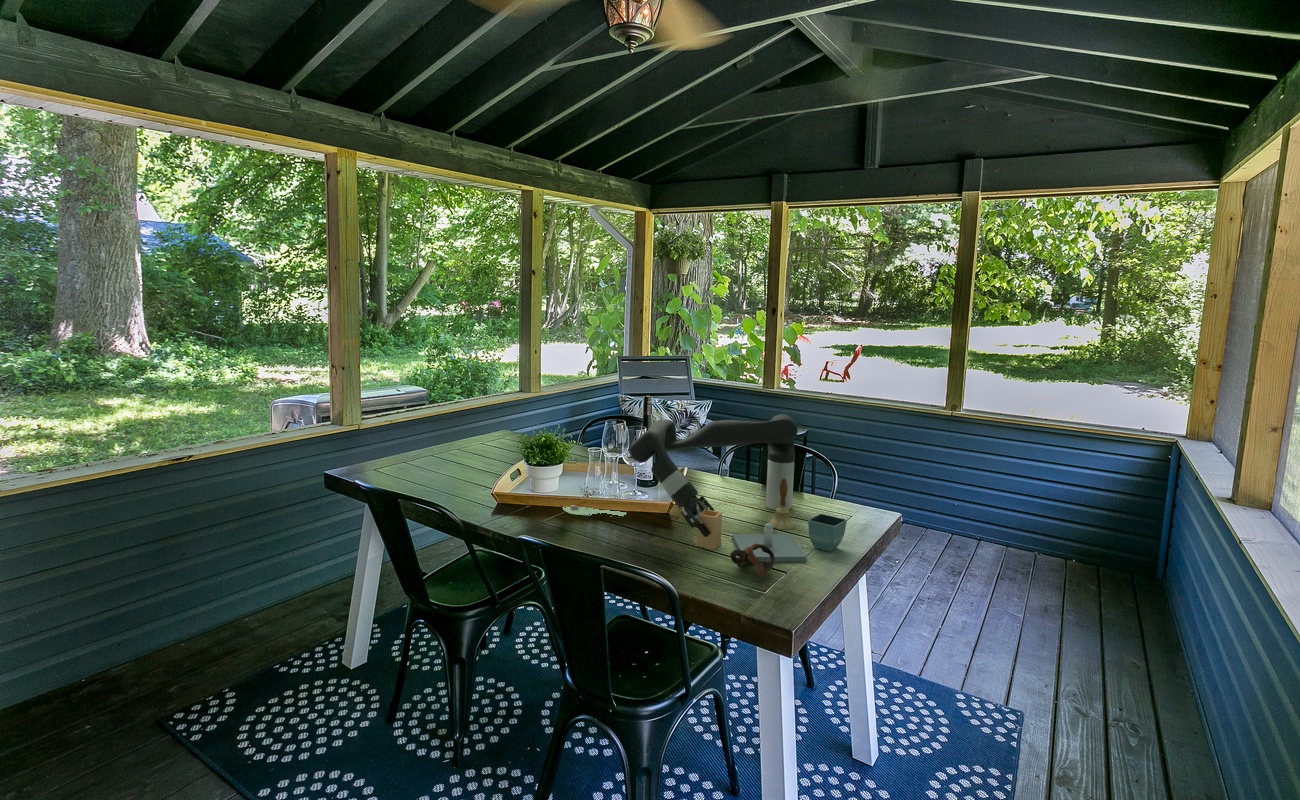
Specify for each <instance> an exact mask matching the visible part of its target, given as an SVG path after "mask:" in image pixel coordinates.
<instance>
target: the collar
mask: <svg viewBox="0 0 1300 800" xmlns="http://www.w3.org/2000/svg"><path fill="white" fill-rule="evenodd" d="M701 520H702V524H703V523H704V524H705V526H706V527H707V528H708V529H709V531H710V532H711V534H710V535H708V536H707V537H704V535H703V534H702V533H701V532H700V530H699V529H698V528H697V529H696V531H697V532H696V534H697V535H696V547H697V546H700V547H699V548H702V547H704V548H703V549H707V548H709V549H708V550H712V549H713V550H712V551H715V550H716V549H717V548H718V547H719V546H720V545H722V529H723V528H722V525H723V523H722V521H723V512H722V511H719V510H718V511H717V510H714V511H712V510H706V509H704V511H703V512H701Z"/></svg>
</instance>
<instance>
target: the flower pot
mask: <svg viewBox="0 0 1300 800" xmlns="http://www.w3.org/2000/svg"><path fill="white" fill-rule="evenodd" d="M847 522H848V520H847V519H846V518H842V517H837V516H833V515H828V514H825V513H818V514H816V515H815V516H813V517H811V518H809V519H808V520H807V523H808V535H809V536H808V537H809V540H810V542H811V543H812V545H813V547H814V549H817V550H821V551H824V552H829V553H830V552H833V551H834V550H835V549H837V548H838V547H839V546H840V544H841V542H842V540H843V538H844V537H845V531H846V528H847Z"/></svg>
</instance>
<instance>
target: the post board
mask: <svg viewBox="0 0 1300 800" xmlns="http://www.w3.org/2000/svg"><path fill="white" fill-rule="evenodd" d="M763 531H764V533H743V534H741V533H739V534H737V533H735V534H734V533H732V534H731V540H732V542H733V544H734V543H735V544H734V545H736V546H735V547H737V548H736V549H740V550H745V549H746V548H747V547H750V546H752V545H753V544H762V545H765V546H767V547H768V548H769V549H770V550H771V551H772V552H773V554H774V557H775V560H774V563H783V562H784V563H785V562H787V563H788V562H789V563H793V562H795V563H799V562H800V563H801V562H807V559H808V557H807V555H806V553H805V552H804V551H803V550H802V548H801V547H800V545H799V544H798V543H797V542H796V541H795V540H794V538H793V536H791V534H790V533H773V531H774V528H773V526H772V524H770V522H767V523H765V525H764V530H763ZM753 553H754V555H755V556H756V557H757V558H758V559H759V560H760V563H764V562H769V561H771V558H770V555H769V554H768V553H765V552H763V551H762V549H761V548H758V549H756V550H753Z"/></svg>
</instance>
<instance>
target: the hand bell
mask: <svg viewBox="0 0 1300 800" xmlns="http://www.w3.org/2000/svg"><path fill="white" fill-rule="evenodd" d="M787 490H788V486H787V482H786V479H785V478H782V481H781V483H780V495H781V503H780V508H777V509H776V510H775V512H774V513H775V514H774V516H773V519H772V520H770V521H769V523H770V524H772V526H773V529H776V530H780V531H781V530H785V531H788V530H792V529H794V528H795V527H796V526H795V523H794V522H793V521H792V518H791V513H790V509H787V508H786V495H787Z"/></svg>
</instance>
